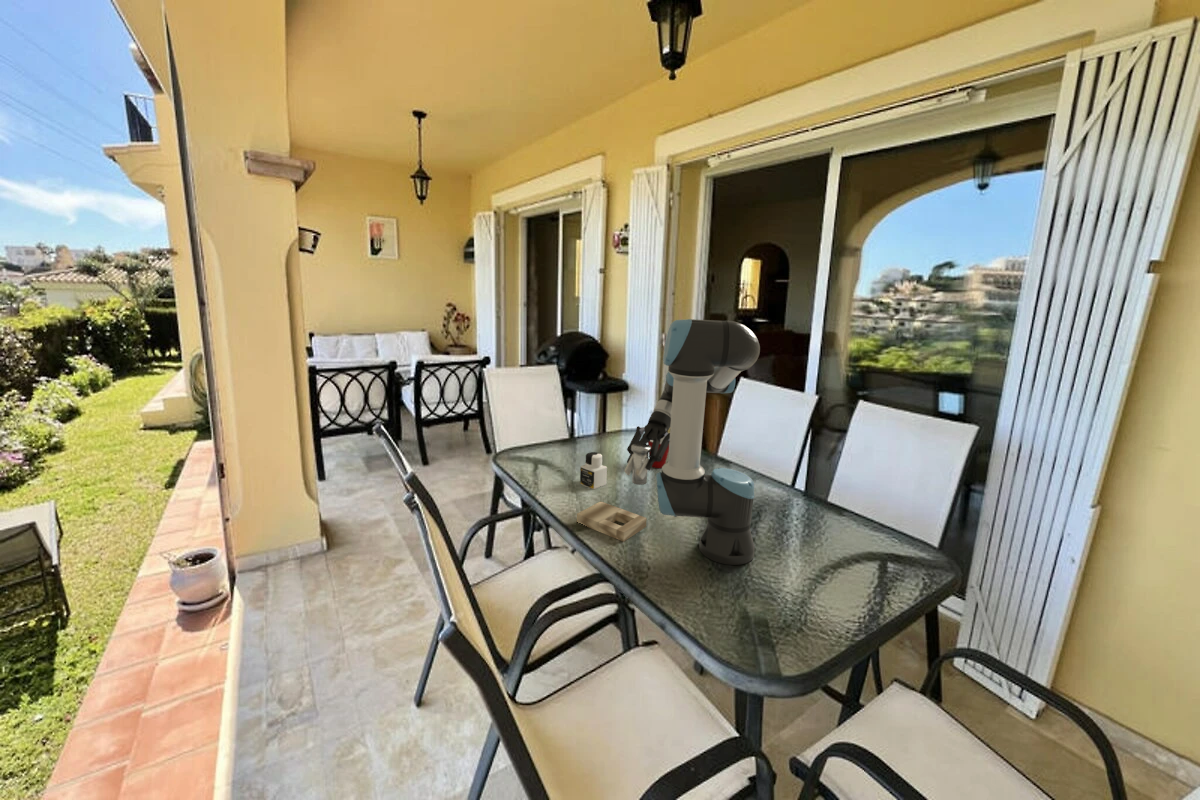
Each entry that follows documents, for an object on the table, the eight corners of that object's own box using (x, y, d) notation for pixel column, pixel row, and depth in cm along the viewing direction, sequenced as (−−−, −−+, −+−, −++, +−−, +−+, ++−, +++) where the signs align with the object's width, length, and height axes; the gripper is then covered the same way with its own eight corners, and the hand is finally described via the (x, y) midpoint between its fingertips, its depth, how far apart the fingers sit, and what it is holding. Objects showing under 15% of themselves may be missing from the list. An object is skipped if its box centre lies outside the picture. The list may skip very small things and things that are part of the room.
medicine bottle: (579, 484, 185) (580, 453, 182) (592, 479, 190) (593, 449, 187) (593, 489, 180) (594, 458, 178) (606, 484, 185) (607, 453, 183)
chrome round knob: (652, 481, 165) (654, 446, 162) (642, 487, 160) (644, 451, 157) (636, 477, 169) (638, 442, 166) (625, 482, 164) (627, 446, 161)
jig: (646, 526, 154) (646, 517, 153) (623, 541, 145) (624, 532, 144) (600, 509, 165) (600, 501, 164) (576, 522, 156) (576, 513, 155)
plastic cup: (673, 471, 201) (674, 442, 198) (646, 470, 201) (647, 441, 198) (669, 461, 211) (671, 434, 208) (644, 460, 211) (645, 433, 208)
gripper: (689, 427, 167) (661, 487, 158) (644, 418, 178) (615, 474, 169) (682, 414, 162) (653, 476, 153) (637, 405, 173) (606, 463, 163)
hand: (633, 475), depth 161 cm, fingers closed on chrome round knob, 5 cm apart
